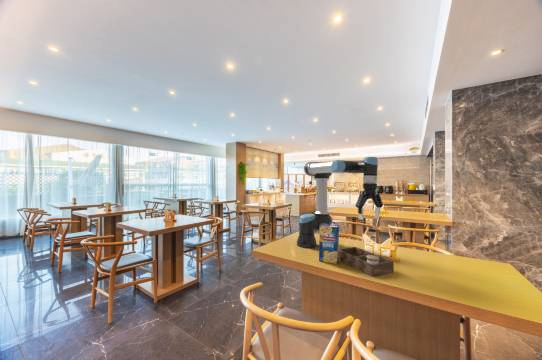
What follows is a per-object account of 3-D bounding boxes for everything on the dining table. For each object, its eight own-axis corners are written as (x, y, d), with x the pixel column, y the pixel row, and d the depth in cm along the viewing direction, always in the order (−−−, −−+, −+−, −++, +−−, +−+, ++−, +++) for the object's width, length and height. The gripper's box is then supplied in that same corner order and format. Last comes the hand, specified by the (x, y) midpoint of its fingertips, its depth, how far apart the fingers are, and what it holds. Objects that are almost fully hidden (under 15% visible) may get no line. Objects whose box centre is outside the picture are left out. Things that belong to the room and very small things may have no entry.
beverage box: (337, 264, 130) (338, 227, 130) (318, 260, 134) (319, 225, 134) (338, 260, 136) (339, 225, 136) (320, 257, 140) (321, 223, 141)
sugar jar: (363, 268, 124) (363, 255, 124) (371, 266, 127) (372, 254, 127) (373, 272, 118) (373, 259, 118) (381, 270, 121) (381, 258, 121)
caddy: (335, 258, 139) (336, 249, 139) (354, 255, 145) (354, 246, 145) (372, 276, 113) (373, 265, 113) (393, 272, 120) (393, 261, 120)
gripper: (359, 182, 120) (358, 221, 120) (390, 183, 131) (389, 218, 131) (349, 182, 127) (348, 218, 127) (379, 183, 138) (378, 216, 138)
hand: (369, 218), depth 129 cm, fingers open, 13 cm apart
